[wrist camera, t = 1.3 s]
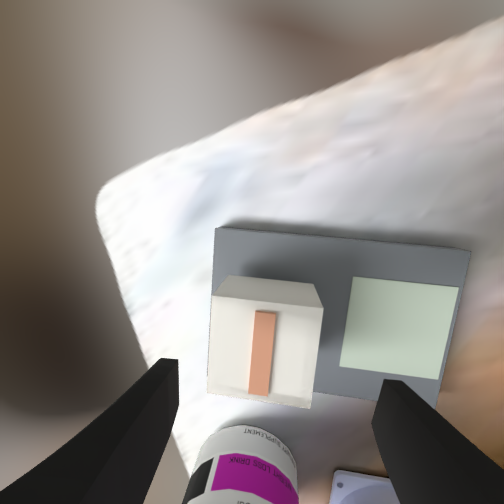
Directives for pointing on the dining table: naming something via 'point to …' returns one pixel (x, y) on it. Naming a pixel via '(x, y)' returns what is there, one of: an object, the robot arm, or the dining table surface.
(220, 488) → the supplement can
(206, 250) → the dining table surface
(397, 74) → the dining table surface
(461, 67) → the dining table surface
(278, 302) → the white cube with stripe
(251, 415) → the dining table surface
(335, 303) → the board
